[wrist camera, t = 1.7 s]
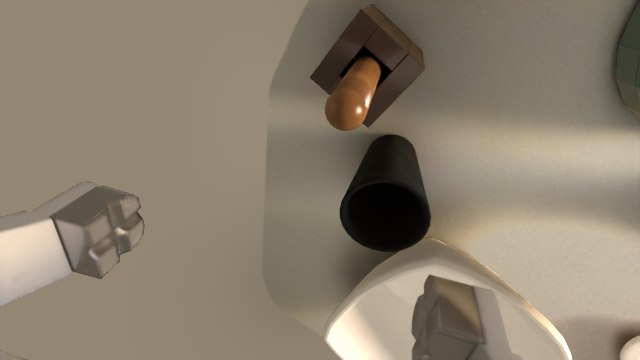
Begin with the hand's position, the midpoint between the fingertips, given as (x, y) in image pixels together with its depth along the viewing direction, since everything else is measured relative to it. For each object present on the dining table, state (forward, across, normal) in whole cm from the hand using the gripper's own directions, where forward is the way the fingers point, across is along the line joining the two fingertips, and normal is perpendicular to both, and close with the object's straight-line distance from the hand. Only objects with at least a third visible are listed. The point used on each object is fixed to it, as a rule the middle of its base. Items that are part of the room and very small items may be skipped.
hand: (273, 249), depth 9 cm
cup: (+29, -4, +10) cm, 31 cm away
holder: (+29, 0, 0) cm, 29 cm away
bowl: (+29, -14, +26) cm, 42 cm away
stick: (+29, 0, 0) cm, 29 cm away
